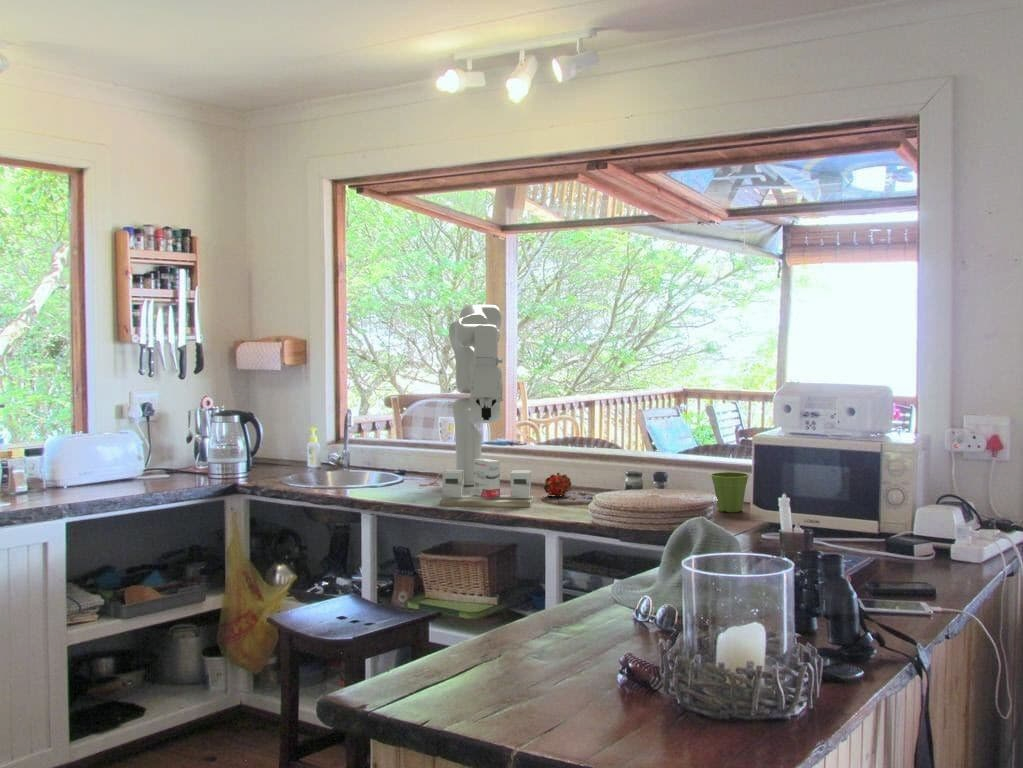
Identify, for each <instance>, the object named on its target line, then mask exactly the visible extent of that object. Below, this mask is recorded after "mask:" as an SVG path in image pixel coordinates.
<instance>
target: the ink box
mask: <svg viewBox="0 0 1023 768" xmlns="http://www.w3.org/2000/svg"><path fill="white" fill-rule="evenodd" d="M500 465H501V464H500V460H495V459H488V458H481V459H475V460H474V485H473V495H477V496H482V497H486V498H492V497H500V495H501V479H500V478H501V474H500V473H501V472H500V471H501V470H500V469H501V468H500V467H501V466H500Z"/></svg>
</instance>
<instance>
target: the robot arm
mask: <svg viewBox="0 0 1023 768" xmlns="http://www.w3.org/2000/svg"><path fill="white" fill-rule="evenodd" d="M501 325H502V313H501V310H500V307H498V306H497V305H494V304H470V305H466V306H464V307H463V308H462V309H461V311H460V314H459V318H458V320H456V321H455V320H454V321H453V322H451V323H450V324H449V327H448V336H449V341H450V344H451V348H452V350H453V352H454V357H455V380H456V381H455V382H456V384H455V385H456V389H457V391H458V392H459V393H460V394H465V395H469V396H470V397H462V398H458V399H456V400H455V401H454V402H453V404H452V414H453V420H454V421H453V423H454V432H455V470H464V486H474V460H475V459H482V435H481V432H480V430H478V428H477V427H476V426H475V425H476V424H477V425H478V424H495V423H497V422H499V421H500V417H501V402H503V401H504V398H503V377H502V376H503V375H502V370H501V367H499V365H501V364H503V359H500V358H499V355H498V354H499V353H498V350H499V349H498V346H499V345H498V343H499V342H500V339H501V335H500V328H501Z"/></svg>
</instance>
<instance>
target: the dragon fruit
mask: <svg viewBox="0 0 1023 768" xmlns="http://www.w3.org/2000/svg"><path fill="white" fill-rule="evenodd" d="M571 487H572V481H571V478H570V477H569V476H568V474H566V473H565V474H562V475H561V474H560V472H557V473H556V474H551V475H550V476H549V477H547V478H546V479H545V485H543V489H544V491H545V492H546V494H547V497H548V496H549V495H557V496H559V495H564V496H565V495H566V493H568V492H571V491H572V488H571Z"/></svg>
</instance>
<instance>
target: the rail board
mask: <svg viewBox="0 0 1023 768" xmlns="http://www.w3.org/2000/svg"><path fill="white" fill-rule="evenodd" d="M531 474H532V471H531V470H511V472H510V494H509V495H507V494H505V495H501V494H500V497H492V498H486V497H482V496H477V495H474V494H465V485H464V470H456V469H444V471H442V479H441V480H442V496H441V499H440V500H439V507H441V506H442V507H503V508H504V507H505V508H506V507H510V508H511V507H516V508H517V507H518V508H520V507H521V508H522V507H523V508H525V507H527V508H530V507H532V504H533V502H534V496H533V495H532V485H531V484H532V475H531Z"/></svg>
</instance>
